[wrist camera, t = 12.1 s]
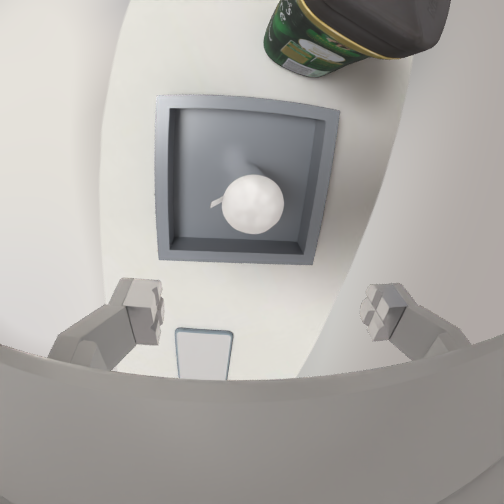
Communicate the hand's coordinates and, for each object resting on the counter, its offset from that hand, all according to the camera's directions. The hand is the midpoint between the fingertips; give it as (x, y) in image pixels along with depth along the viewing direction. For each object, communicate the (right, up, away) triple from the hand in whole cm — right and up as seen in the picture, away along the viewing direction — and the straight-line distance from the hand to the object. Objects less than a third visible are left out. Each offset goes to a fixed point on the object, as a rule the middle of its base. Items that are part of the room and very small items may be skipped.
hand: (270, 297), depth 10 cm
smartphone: (-9, -15, +31) cm, 36 cm away
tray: (-2, +10, +18) cm, 20 cm away
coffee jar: (+5, +23, +11) cm, 26 cm away
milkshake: (-2, +9, +17) cm, 19 cm away
